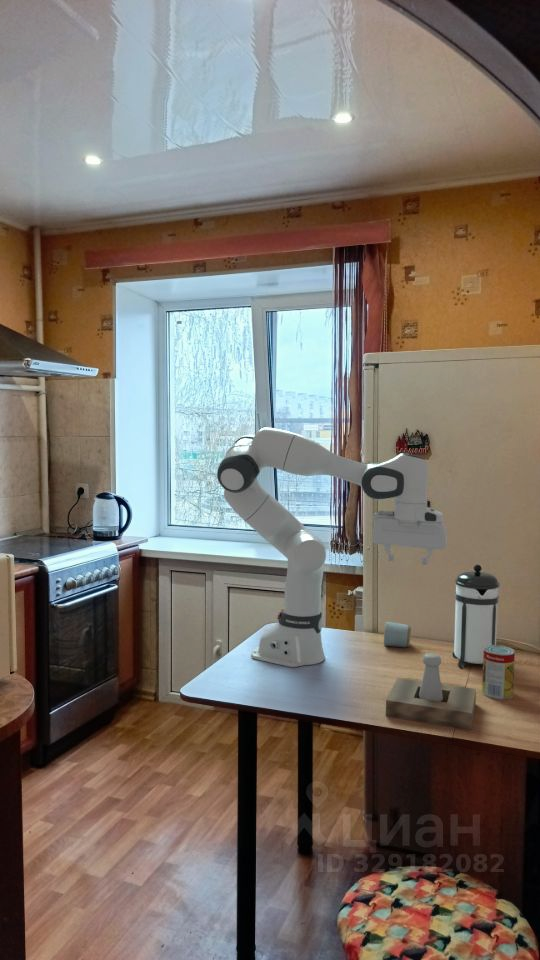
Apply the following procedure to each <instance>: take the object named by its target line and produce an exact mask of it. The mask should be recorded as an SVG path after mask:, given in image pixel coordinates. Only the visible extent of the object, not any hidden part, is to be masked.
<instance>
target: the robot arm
mask: <svg viewBox="0 0 540 960" xmlns="http://www.w3.org/2000/svg"><path fill="white" fill-rule="evenodd" d="M425 459H426V458H424V457H422V456H420V455H415V454H411V453H405V452H402V453H399V454H398V455H396V456H394V457H393V458H391V459H388V460H386V461H384V462H372V463H371V462H370V463H364V462H360V461H357V460H354V459H351V458H348V457H346V456H345V457H344V456H341V455H339V454H336V453H334V452H333V451H330V449H327V448H325V447H324V446H322V445H320V444H319V443H318V442H316V441H314V440H312V439H311V438H308V437H306V436H303V435H300V434H299V433H296V432H295V433H294V432H292V431H288V430H284V429H278V428H274V427H263V428H261V429H259V430H258V431H257V432H256V433H255V434H246V435H242V436H241V437H239V438H238V439H236V440H235V442H234V443H233V444H232V446H231V447H229V448H228V450H227V451H226V453H225V456H224V457H223V458H222V460H221V462H220V463H219V465H218V468H217V472H216V474H217V475H216V477H217V480H218V483H219V484H220V486H221V487H222V488H223V497H224V500H225V501H226V502H227V504H228V505H229V506H230V507H231V509H232V510H233V511H234V512H235V514H237V515H238V517H239V518H241V519H242V521H244V522H245V523H246V524H248V525H249V527H251V528H252V529H253V530H254V531H255V532H256V533H257V534H259V536H261V537H262V538H263V539H264V540H265V541H267V542H268V543H269V544H270V545H271V546H272V547H274V548H275V549H276V550H277V551H278V552H279V553H280V554H282V555H283V556H284V557H285V558H286V559H287V571H286V579H285V583H284V605H283V606H284V607H282V609H281V610H280V612H278V614H277V615H276V620H277V621H278V622H277V623H275V624H274V625H273V626H271V627H270V628H269V629H267V630H266V631H264V632H263V633H262V634H261V637H260V640H259V643H258V645H256V647H254V648H253V649H252V651H251V655H250V656H251V658H252V659H255V660H258V661H264V662H268V663H272V664H277V665H281V666H285V667H290V668H296V667H297V668H298V667H300V666H309V665H316V664H319V663H321V662H323V661H325V659H326V656H325V652H324V647H323V642H322V640H323V639H322V629H323V614H322V613H323V612H322V611H321V603H322V601H321V599H322V593H321V592H322V582H323V577H324V572H325V561H326V559H327V558H326V557H327V551H326V547H325V544H324V543H323V541H322V540H321V539H320V538H319V536H317V535H315V534H314V533H313V532H312V531H310V530H309V529H308V528H307V526H305V525H304V524H303V523H302V522H301V521H299V519H297V518H296V517H295V516H294V515H293V514H292V513H291V512H290V511H289V510H288V509H287V508H286V507H285V506H283V504H281V502H279V501H278V500H277V499H276V498H275V497H274V496H273V495H271V494H270V492H269V491H267V490H266V489H265V488H264V487H263V486H262V485H261V484H260V482H259V481H258V478H257V477H258V476H259V474H260V473H261V471H262V469H264V468H266V467H267V468H269V467H270V468H273V469H278V470H280V471H282V472H286V473H287V474H293V475H298V476H304V477H313V476H329V477H333V478H337V479H340V480H344V481H347V482H350V483H352V484H355V485H358V486H359V487H360V488H361V489H362V490H363V492H364V494H365V495H366V496H368V497H369V498H371V499H372V500H377V501H382V500H386V499H392V498H393V499H394V504H393V508H394V509H393V511H389V510H388V511H387V510H386V511H383V510H378V511H377V512H374V513H373V515H372V524H373V528H372V533H371V534H372V535H371V541H372V543H374V545H384V551H385V552H386V554H387V562H394V561H395V554H394V553H393V554H392V552H391V550H390V549H391V546H397V547H407V548H410V547H411V548H419V549H426V552H427V553H428V554H427V555H426V556H423V557H422V563H421V565H426V566H428V565H429V564H430V563H429V561H430V560H429V559H430V557H431V556H432V555H433V553H434V550H441V551H442V550H444V549H446V547H447V546H448V533H447V527H446V524H445V523H444V522H443V521H444V513H443V512H441V511H439V510H436V509H433V508H431V507H428V498H427V491H428V488H429V466H428V462H427V461H426V460H425Z"/></svg>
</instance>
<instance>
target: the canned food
mask: <svg viewBox="0 0 540 960" xmlns="http://www.w3.org/2000/svg"><path fill="white" fill-rule="evenodd" d="M515 654H516V653H515V650H514V649H513V648H511V647H509V646H507V645H506V646H505V645H501V644H496V645H488V646H485V647H484V650H483V664H482V678H481V679H482V680H481V681H482V682H481V683H482V684H481V693H482V694H483V696H485V697H487V698H490V699H495V700H511V699H512V698H513V697H514V680H515V657H516V656H515Z"/></svg>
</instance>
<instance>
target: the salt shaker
mask: <svg viewBox="0 0 540 960" xmlns="http://www.w3.org/2000/svg"><path fill="white" fill-rule="evenodd" d="M422 660H423V665H425V667H424V672H423V674H422V675H423V677H422V680H421V681H422V684H421V688H420V693H419V698H420V699H425V700H432V701H438V702H442V701H443V695H442V688H441V684H442V681H441V675H440V670H439V669H440V668H439V667H440V665H441V664H442V663H441V662H442V658H441V656H440V655H439V654H436V653H431V652H430V653H426V654H424V655H423V657H422Z"/></svg>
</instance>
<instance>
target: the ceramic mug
mask: <svg viewBox="0 0 540 960" xmlns="http://www.w3.org/2000/svg"><path fill="white" fill-rule="evenodd" d="M411 628H412V627H411V626H410V625H408V624H404V623H397V622H393V621H386V622H385V626H384V635H383V636H384V637H383V645H384V646H387V647H388V646H389V647H398V648H408V647H410V644H411V634H412V629H411Z"/></svg>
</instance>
